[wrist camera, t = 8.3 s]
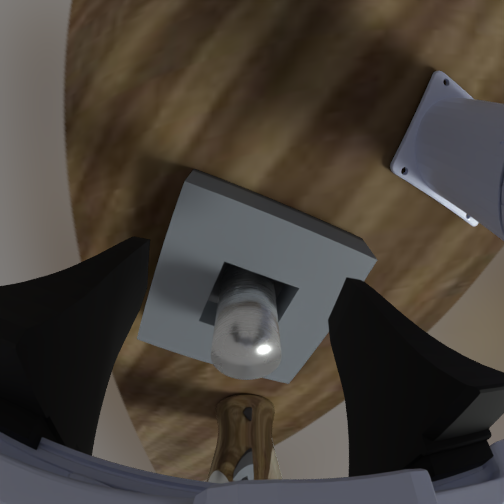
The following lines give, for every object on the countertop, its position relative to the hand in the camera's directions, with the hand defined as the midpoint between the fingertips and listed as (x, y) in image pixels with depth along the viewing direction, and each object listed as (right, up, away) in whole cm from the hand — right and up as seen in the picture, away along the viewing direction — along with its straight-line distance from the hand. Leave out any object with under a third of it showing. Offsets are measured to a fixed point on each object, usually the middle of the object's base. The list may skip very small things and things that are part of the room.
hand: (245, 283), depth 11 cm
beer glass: (0, -15, +19) cm, 24 cm away
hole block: (0, -1, +11) cm, 11 cm away
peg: (0, -1, +10) cm, 10 cm away
